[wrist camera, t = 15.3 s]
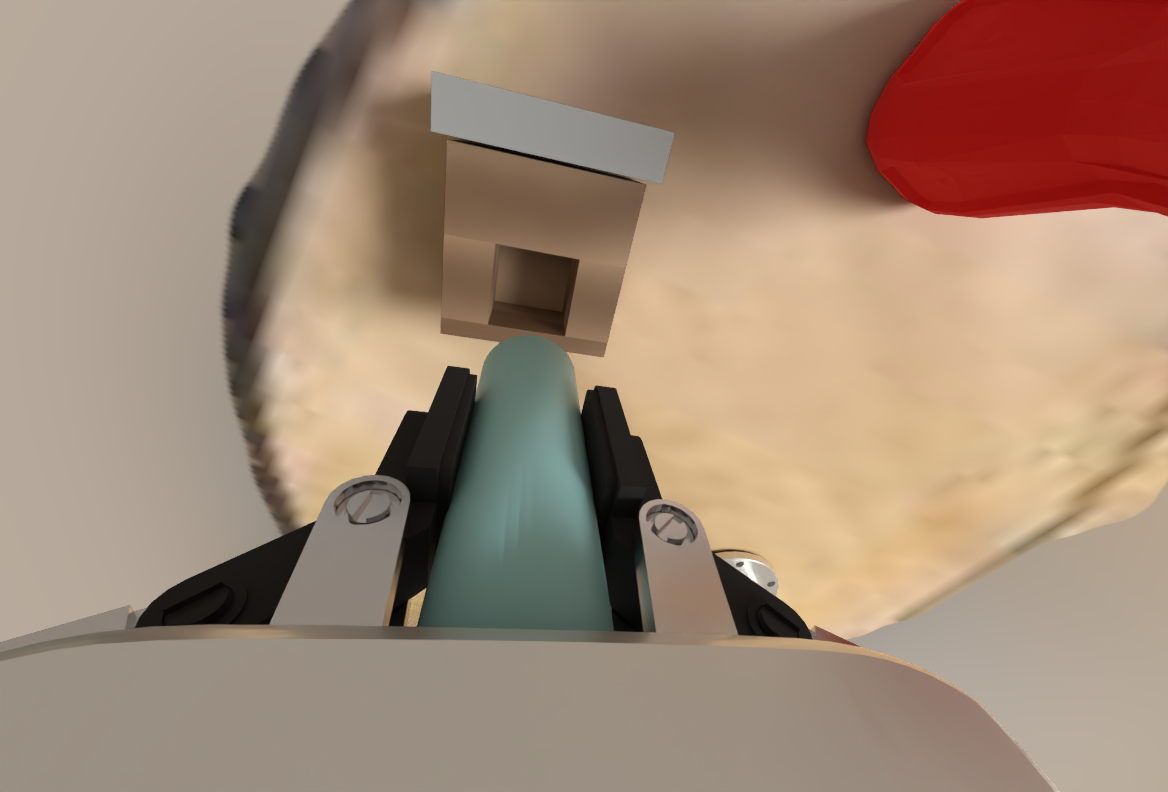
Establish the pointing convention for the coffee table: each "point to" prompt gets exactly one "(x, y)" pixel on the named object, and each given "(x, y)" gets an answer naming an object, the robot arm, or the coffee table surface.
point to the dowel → (521, 505)
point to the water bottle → (1030, 110)
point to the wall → (547, 129)
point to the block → (533, 247)
